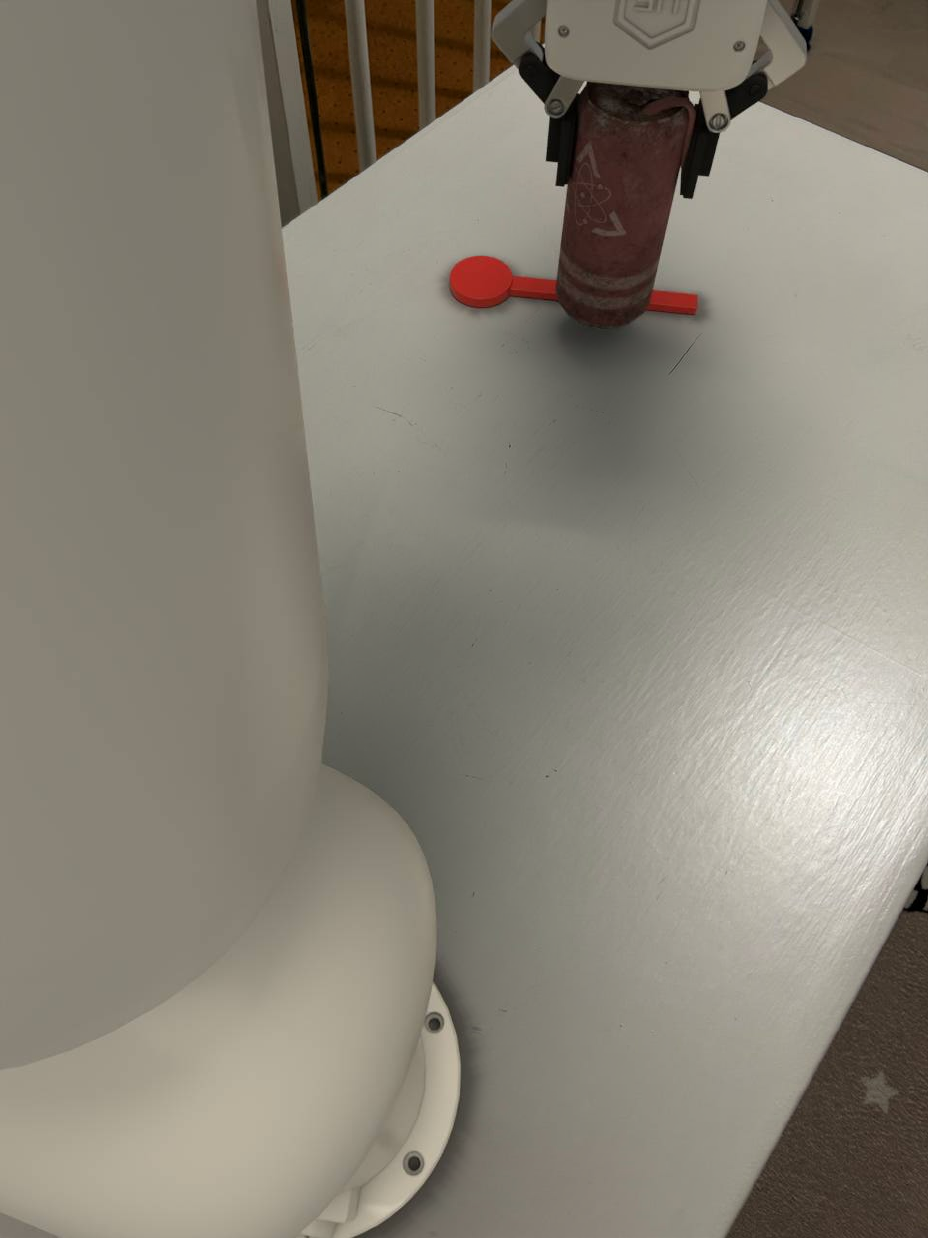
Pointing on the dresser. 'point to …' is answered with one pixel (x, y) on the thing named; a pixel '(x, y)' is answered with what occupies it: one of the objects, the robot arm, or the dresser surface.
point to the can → (620, 199)
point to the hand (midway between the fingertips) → (625, 174)
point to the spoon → (532, 287)
